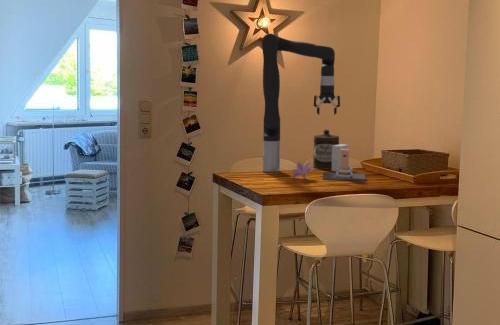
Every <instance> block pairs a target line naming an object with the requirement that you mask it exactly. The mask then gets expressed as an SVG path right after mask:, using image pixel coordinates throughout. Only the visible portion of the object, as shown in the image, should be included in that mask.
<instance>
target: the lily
mask: <svg viewBox="0 0 500 325" xmlns="http://www.w3.org/2000/svg"><path fill="white" fill-rule="evenodd" d="M310 165H311V162H308V163H305V164H303V162H301V161H297V163H296V168H295V169H292V170H290V172H291V173H293V175H292V179H296V178H297V177H299V176H300V177H302V178H303V177H304V180H306V174H307V173H308V172H311V171H313V170H315V168H314V167H311V166H310Z"/></svg>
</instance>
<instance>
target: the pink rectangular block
mask: <svg viewBox="0 0 500 325" xmlns="http://www.w3.org/2000/svg"><path fill="white" fill-rule="evenodd" d="M349 158H350V148H349V149H341V166H340V169H347V170H349V169H348V167H349V166H350V165H349V164H350V163H349ZM348 165H349V166H348ZM340 175H348V172H340Z"/></svg>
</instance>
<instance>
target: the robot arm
mask: <svg viewBox="0 0 500 325" xmlns="http://www.w3.org/2000/svg"><path fill="white" fill-rule="evenodd" d="M261 48H262V49H261V50H262V57H263V64H262V65H263V66H262V88H263V89H262V90H263V97H264V98H263V99H264V115H263V135H262V136H263V138H262V139H263V142H262V143H263V149H262V150H263V154H262V172H265V173H266V172H267V173H278V172H280V171H281V154H280V153H281V117H280V110H279V98H280V89H281V87H280V86H281V85H280V84H281V83H280V80H281V78H280V69H279V65H278V52H289V53H292V54H296V55H300V56H304V57H308V58H309V57H310V58H316V59H320V60H321V67H320V68H321V69H320V81H319V84H320V85H319V95H317V94H316V95H314V97H313V107H314V108H316V114H317V115H318V116H319V115H320V112H321V110H320V106H321V105H322V104H332V106H333V107H334V108H333V116H335V115H336V114H337V109H338V108H339V107H341V96H340V95H339V94H338V95H335V60H336V58H335V57H336V52H335V50H334V49H333V48H332V47H330V46H326V45H318V44H315V43H311V42H307V41H306V42H305V41H296V40H295V41H294V40H289V39H286V38H283V37H280V36H278V35H276V34H274V33H266V34H265V35H264V36H263V37H262V39H261ZM318 99H319V100H320V101H319V103H318V104H317V100H318ZM334 99H336V100H337V104H336V102H334Z"/></svg>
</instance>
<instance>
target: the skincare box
mask: <svg viewBox="0 0 500 325" xmlns="http://www.w3.org/2000/svg"><path fill="white" fill-rule="evenodd" d="M341 149H349V150H350V145H349V144H344V143H339V145H332V169H331V171H332V172H334V173H336V167H340V166H341ZM348 167H350V165H348Z"/></svg>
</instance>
